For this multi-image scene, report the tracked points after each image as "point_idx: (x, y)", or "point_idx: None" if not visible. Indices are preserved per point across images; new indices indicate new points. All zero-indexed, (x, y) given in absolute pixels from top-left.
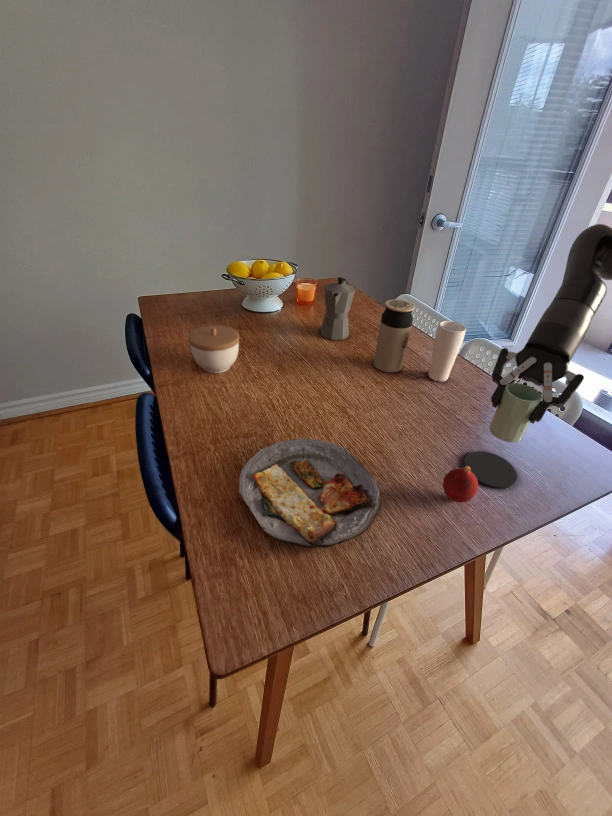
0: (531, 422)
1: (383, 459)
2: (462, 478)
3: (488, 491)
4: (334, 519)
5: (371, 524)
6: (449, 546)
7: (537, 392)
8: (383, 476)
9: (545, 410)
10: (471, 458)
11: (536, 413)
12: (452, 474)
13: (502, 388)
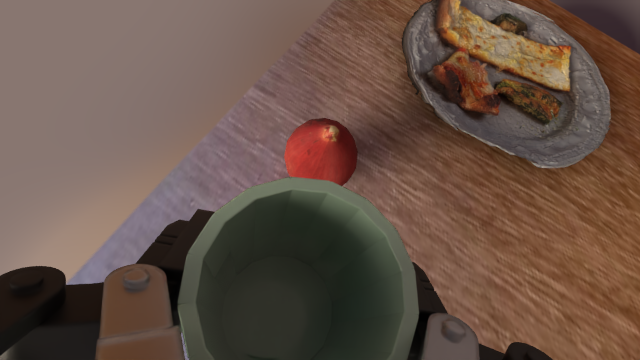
0: None
1: (468, 206)
2: (328, 120)
3: None
4: (443, 50)
5: (402, 47)
6: (291, 81)
7: (212, 354)
8: (441, 163)
9: (148, 249)
10: None
11: (197, 223)
12: (349, 133)
13: (421, 300)
